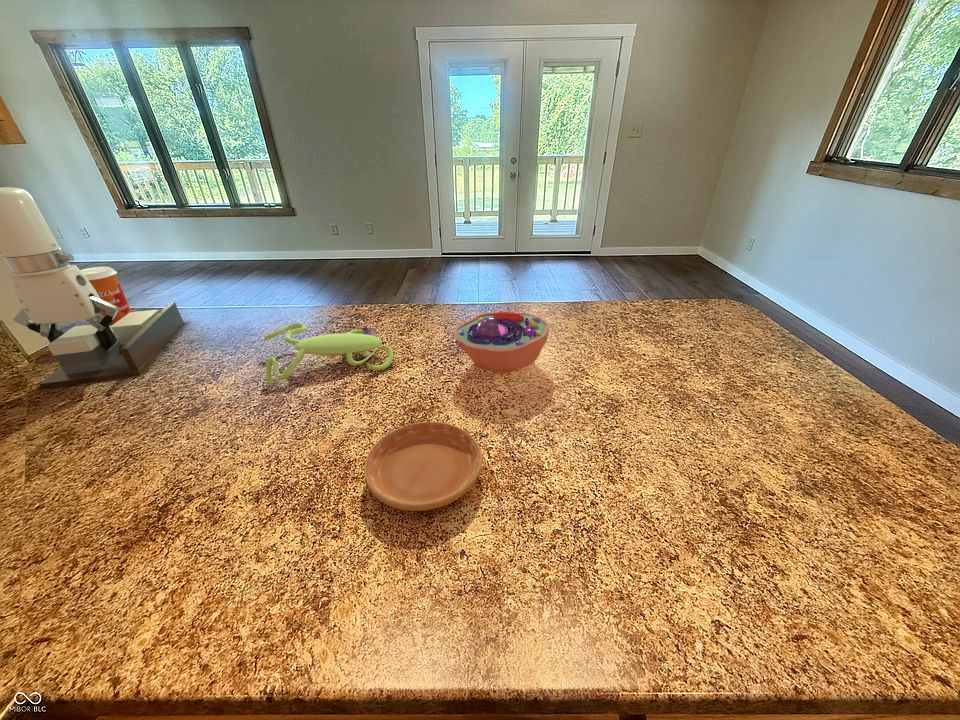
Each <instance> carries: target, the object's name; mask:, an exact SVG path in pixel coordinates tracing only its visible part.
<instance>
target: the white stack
mask: <svg viewBox="0 0 960 720" xmlns="http://www.w3.org/2000/svg"><path fill="white" fill-rule="evenodd" d="M160 311H161V310H159V309H151V310H149V309H148V310H140V311H131V312H130V313H128V314H127V315H126V316H124V317H123V318H122V319H120V320H119V321H117V322H116V323H115V324H113V325H112V326H111V327H112V329H113V331H114V332H113V333H114V335H115V337H116V338H117V340H118V341H119V342H120V344H121V345H124V344H126V343H127V342H128V341H129V340H130V339H131V338H132V337H134V336H135V335H136V334H137V333H138V332H139V331H140V330H141V329H142V328H143V327H144V326H145V325H146V324H147V323H148V322H150V321H151V320H152V319H153V318H154V317H155V316H156V315H157V314H158V313H159V312H160Z"/></svg>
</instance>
